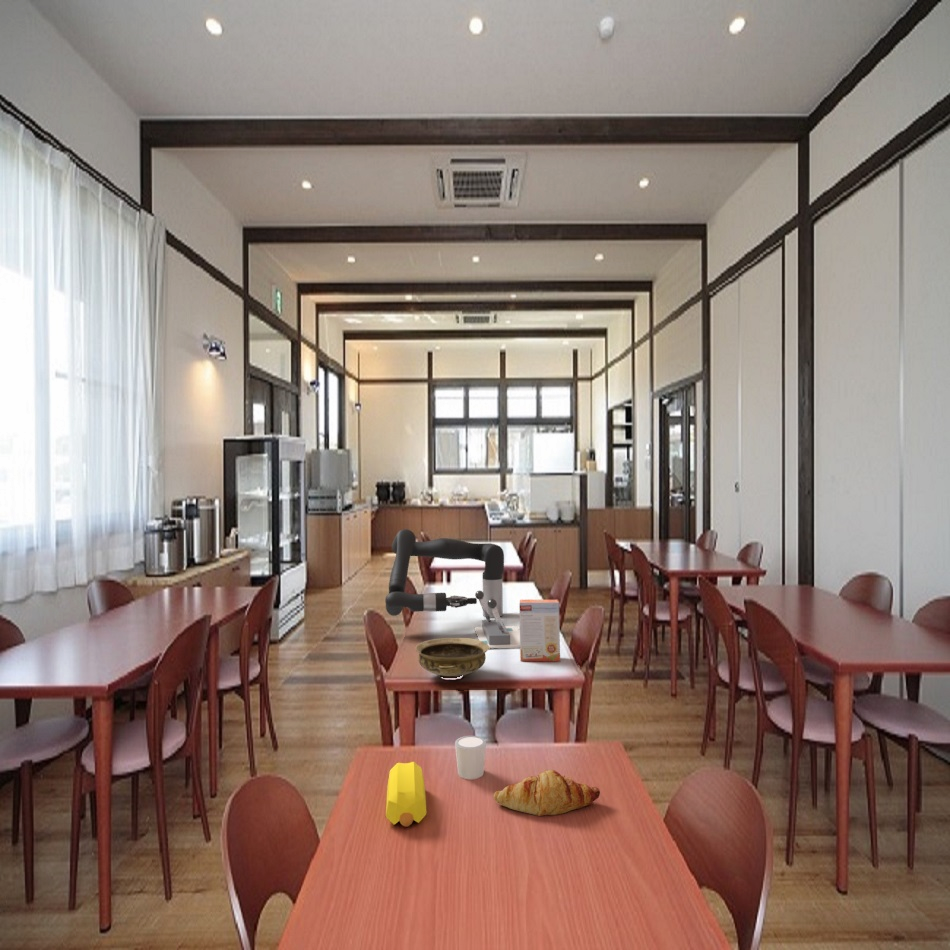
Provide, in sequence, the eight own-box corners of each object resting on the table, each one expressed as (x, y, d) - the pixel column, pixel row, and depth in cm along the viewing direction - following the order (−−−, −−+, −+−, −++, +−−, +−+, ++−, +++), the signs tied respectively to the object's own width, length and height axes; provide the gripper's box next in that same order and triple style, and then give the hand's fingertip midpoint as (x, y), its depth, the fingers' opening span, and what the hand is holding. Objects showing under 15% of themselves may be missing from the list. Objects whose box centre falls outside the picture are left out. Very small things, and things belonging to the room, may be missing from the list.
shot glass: (462, 783, 134) (462, 750, 134) (450, 769, 140) (450, 738, 140) (491, 776, 137) (491, 744, 137) (478, 763, 143) (478, 733, 143)
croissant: (495, 831, 122) (494, 805, 119) (492, 784, 131) (491, 759, 127) (603, 826, 123) (606, 800, 119) (593, 780, 132) (595, 754, 128)
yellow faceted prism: (424, 783, 135) (387, 785, 134) (423, 752, 135) (387, 754, 134) (427, 830, 117) (385, 834, 116) (426, 795, 117) (385, 797, 116)
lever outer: (497, 632, 244) (485, 600, 243) (506, 628, 244) (494, 596, 244) (499, 634, 240) (486, 602, 240) (507, 631, 241) (495, 598, 240)
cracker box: (559, 657, 225) (559, 598, 225) (560, 662, 219) (559, 602, 219) (520, 656, 226) (519, 598, 226) (520, 661, 220) (519, 602, 220)
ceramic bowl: (483, 694, 188) (483, 661, 188) (405, 691, 191) (405, 659, 191) (493, 663, 218) (493, 635, 218) (425, 662, 221) (425, 633, 221)
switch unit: (474, 629, 265) (474, 619, 265) (516, 628, 267) (516, 617, 267) (482, 649, 235) (482, 637, 235) (529, 647, 237) (529, 635, 237)
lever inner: (484, 621, 262) (473, 591, 261) (492, 618, 262) (481, 588, 261) (485, 623, 258) (474, 593, 257) (494, 620, 258) (482, 590, 258)
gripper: (435, 596, 251) (478, 594, 253) (433, 590, 264) (474, 588, 266) (435, 614, 251) (478, 613, 253) (434, 607, 264) (475, 606, 266)
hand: (476, 600), depth 259 cm, fingers closed
